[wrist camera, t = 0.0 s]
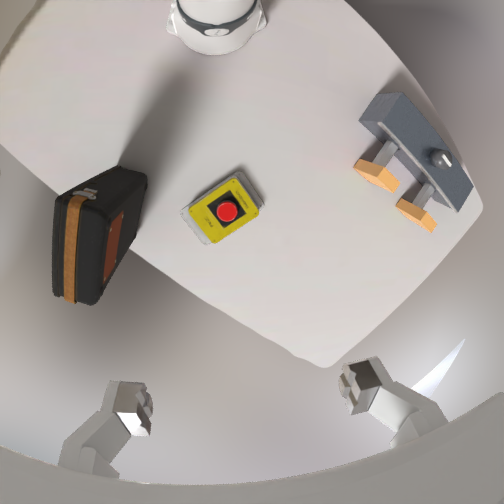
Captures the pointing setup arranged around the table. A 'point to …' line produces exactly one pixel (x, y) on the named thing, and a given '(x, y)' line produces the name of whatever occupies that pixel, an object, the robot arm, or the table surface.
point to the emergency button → (223, 209)
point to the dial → (441, 158)
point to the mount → (416, 146)
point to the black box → (94, 232)
